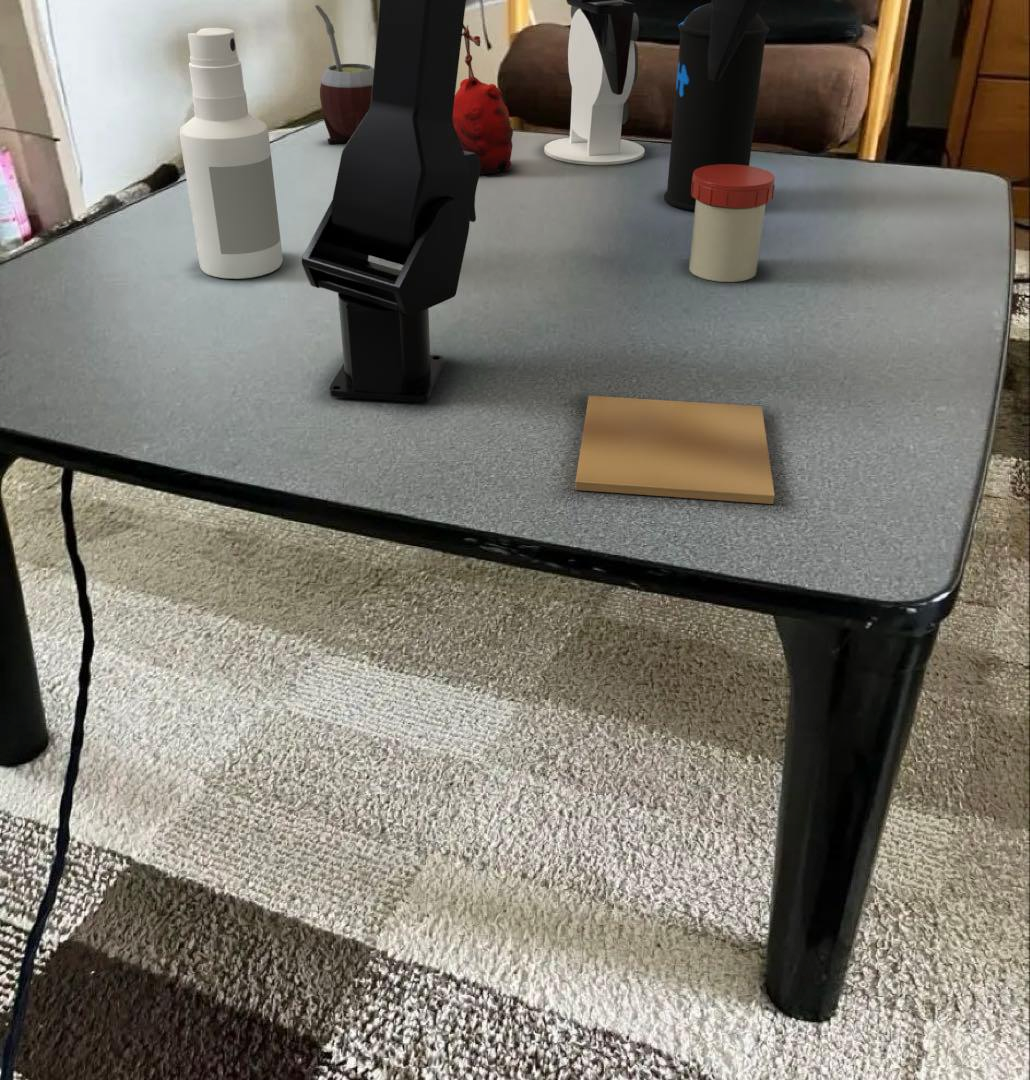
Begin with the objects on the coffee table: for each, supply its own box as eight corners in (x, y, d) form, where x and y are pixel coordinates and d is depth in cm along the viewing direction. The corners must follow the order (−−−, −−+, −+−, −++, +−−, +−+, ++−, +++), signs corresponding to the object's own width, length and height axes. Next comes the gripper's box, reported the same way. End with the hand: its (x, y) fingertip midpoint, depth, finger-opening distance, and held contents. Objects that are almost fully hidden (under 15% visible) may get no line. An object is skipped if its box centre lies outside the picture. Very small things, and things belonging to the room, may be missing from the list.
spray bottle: (264, 283, 87) (234, 41, 77) (185, 276, 88) (146, 36, 78) (295, 255, 93) (271, 26, 83) (221, 249, 94) (188, 22, 84)
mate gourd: (378, 132, 130) (369, -7, 121) (393, 148, 123) (385, 2, 115) (315, 136, 128) (303, -5, 119) (327, 153, 121) (315, 5, 113)
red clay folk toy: (526, 169, 117) (529, 16, 108) (482, 182, 112) (481, 23, 104) (475, 156, 121) (473, 8, 112) (430, 168, 116) (425, 15, 108)
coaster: (773, 504, 60) (775, 495, 59) (574, 490, 61) (575, 481, 61) (760, 414, 69) (762, 406, 69) (588, 403, 70) (588, 395, 70)
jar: (758, 284, 88) (771, 192, 84) (689, 280, 89) (698, 189, 85) (754, 260, 93) (766, 173, 89) (688, 257, 94) (697, 170, 89)
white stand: (662, 162, 119) (674, 12, 111) (564, 169, 117) (570, 16, 108) (622, 136, 129) (631, -3, 121) (531, 142, 126) (534, 0, 118)
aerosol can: (759, 197, 109) (789, -26, 98) (727, 218, 103) (755, -17, 92) (685, 184, 112) (705, -33, 101) (649, 204, 106) (667, -24, 95)
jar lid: (775, 209, 84) (778, 187, 84) (691, 206, 85) (693, 184, 84) (769, 186, 90) (772, 165, 89) (690, 183, 90) (692, 162, 90)
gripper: (723, -151, 88) (706, 56, 97) (516, -140, 81) (519, 80, 91) (810, -144, 80) (783, 81, 89) (588, -131, 73) (583, 110, 82)
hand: (666, 87), depth 88 cm, fingers open, 9 cm apart
